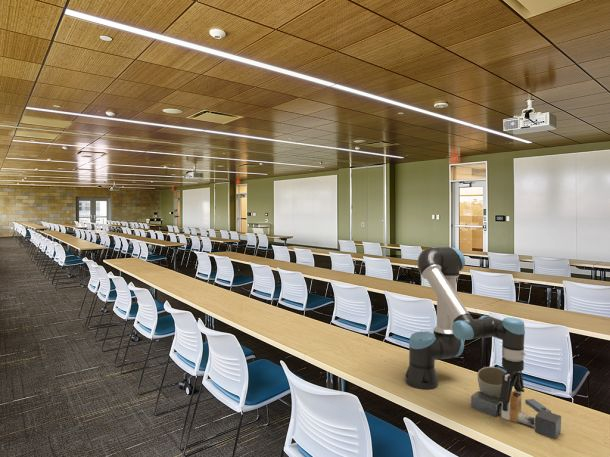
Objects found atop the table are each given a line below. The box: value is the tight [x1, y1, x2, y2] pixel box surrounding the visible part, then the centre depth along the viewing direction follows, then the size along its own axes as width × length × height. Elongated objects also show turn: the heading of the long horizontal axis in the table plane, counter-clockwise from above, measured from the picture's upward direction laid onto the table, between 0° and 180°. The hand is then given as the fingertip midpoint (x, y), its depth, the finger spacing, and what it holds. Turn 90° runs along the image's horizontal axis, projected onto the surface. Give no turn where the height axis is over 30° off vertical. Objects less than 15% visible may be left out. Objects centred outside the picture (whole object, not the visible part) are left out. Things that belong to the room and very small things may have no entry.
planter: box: [477, 366, 507, 398], centre depth 163 cm, size 12×12×11 cm
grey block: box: [470, 390, 502, 418], centre depth 157 cm, size 10×7×5 cm
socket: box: [534, 410, 562, 440], centre depth 141 cm, size 6×7×6 cm
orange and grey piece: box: [497, 390, 535, 428], centre depth 152 cm, size 19×4×10 cm, turn 43°
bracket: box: [525, 398, 552, 413], centre depth 159 cm, size 4×10×2 cm, turn 6°
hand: (511, 412), depth 151 cm, fingers open, 12 cm apart
